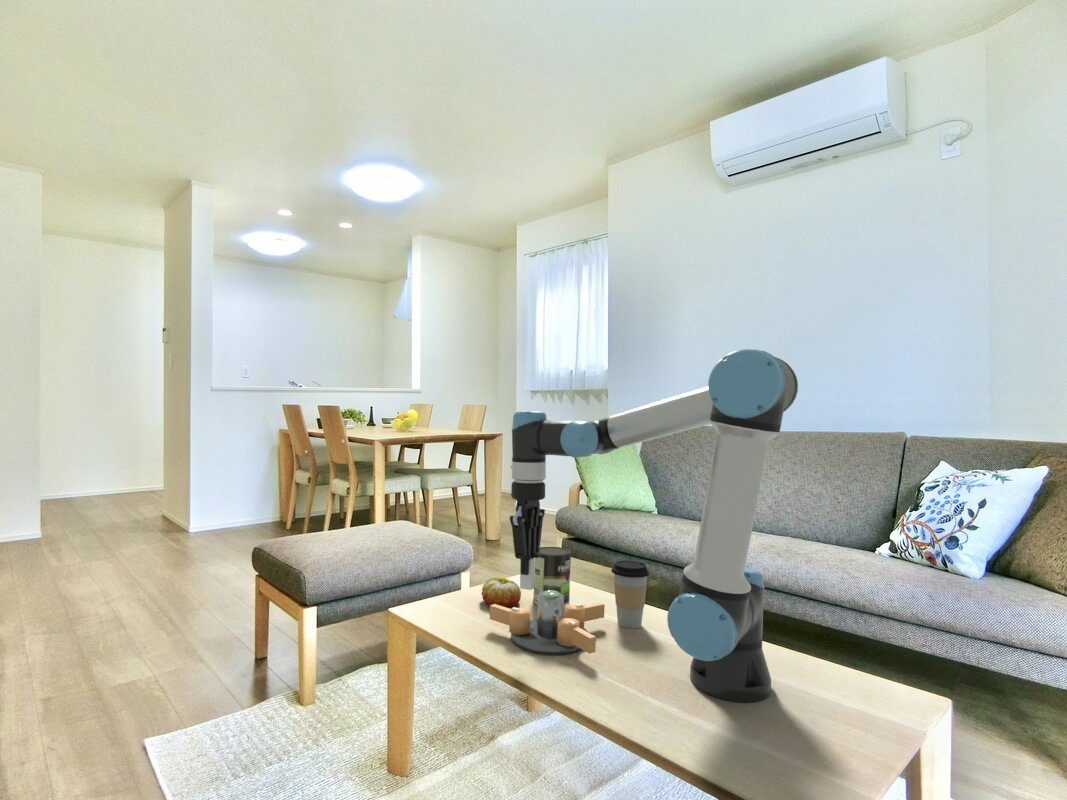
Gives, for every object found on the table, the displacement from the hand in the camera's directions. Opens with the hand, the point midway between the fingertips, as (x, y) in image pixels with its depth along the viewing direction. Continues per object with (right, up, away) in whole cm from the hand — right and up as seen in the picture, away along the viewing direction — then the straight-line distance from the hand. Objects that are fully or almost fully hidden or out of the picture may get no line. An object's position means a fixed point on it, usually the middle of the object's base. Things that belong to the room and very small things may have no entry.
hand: (527, 588), depth 124 cm
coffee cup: (+25, -15, +17) cm, 34 cm away
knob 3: (+11, -12, -2) cm, 16 cm away
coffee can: (+6, -15, +33) cm, 37 cm away
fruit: (-8, -14, +30) cm, 34 cm away
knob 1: (-4, -12, +8) cm, 15 cm away
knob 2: (+14, -13, +12) cm, 22 cm away
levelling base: (+5, -14, +7) cm, 16 cm away
